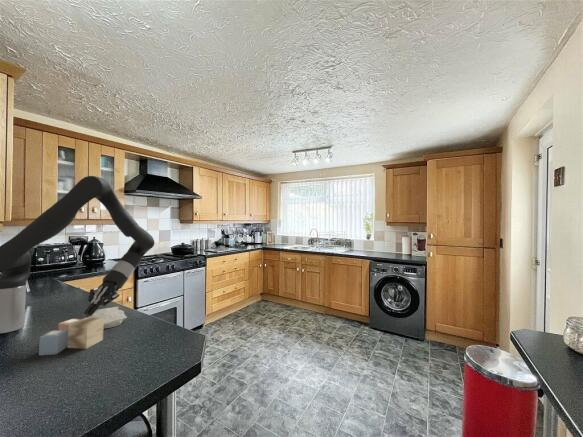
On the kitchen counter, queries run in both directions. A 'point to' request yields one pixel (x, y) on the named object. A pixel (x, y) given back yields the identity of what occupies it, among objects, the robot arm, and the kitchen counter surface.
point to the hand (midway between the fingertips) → (87, 314)
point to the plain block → (85, 332)
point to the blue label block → (53, 342)
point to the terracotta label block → (66, 324)
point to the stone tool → (110, 316)
